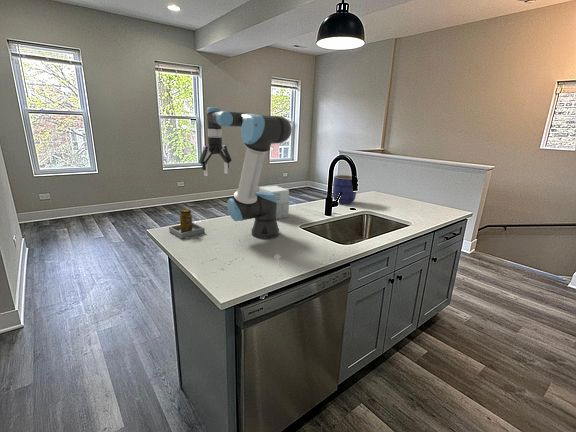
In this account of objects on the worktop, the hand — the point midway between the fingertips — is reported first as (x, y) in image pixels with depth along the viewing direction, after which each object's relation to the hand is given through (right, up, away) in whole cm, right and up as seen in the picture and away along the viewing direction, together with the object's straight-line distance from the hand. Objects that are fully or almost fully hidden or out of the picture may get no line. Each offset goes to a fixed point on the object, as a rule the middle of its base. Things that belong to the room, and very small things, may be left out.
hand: (216, 174), depth 172 cm
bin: (-13, -33, -11) cm, 37 cm away
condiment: (-13, -33, -11) cm, 37 cm away
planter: (+86, -14, +64) cm, 108 cm away
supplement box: (+32, -23, +26) cm, 48 cm away
